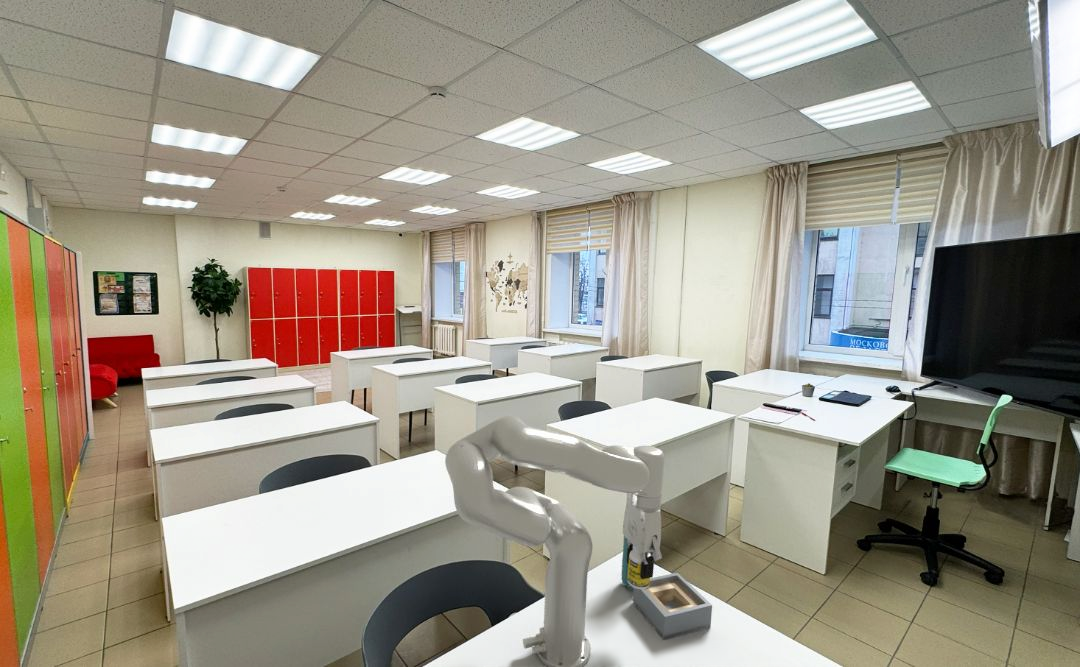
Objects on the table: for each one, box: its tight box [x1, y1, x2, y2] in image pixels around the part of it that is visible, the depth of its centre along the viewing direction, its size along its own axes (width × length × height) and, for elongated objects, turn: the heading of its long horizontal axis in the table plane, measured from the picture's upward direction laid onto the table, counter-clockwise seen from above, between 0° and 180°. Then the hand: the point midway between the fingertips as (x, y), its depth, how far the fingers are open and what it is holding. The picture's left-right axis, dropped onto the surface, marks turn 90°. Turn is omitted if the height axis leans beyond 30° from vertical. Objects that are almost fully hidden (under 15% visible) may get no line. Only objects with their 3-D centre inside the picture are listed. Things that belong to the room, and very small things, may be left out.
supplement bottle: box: [627, 545, 651, 589], centre depth 112 cm, size 5×5×10 cm
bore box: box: [632, 572, 713, 641], centre depth 120 cm, size 14×14×6 cm
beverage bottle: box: [620, 535, 634, 589], centre depth 131 cm, size 6×7×20 cm
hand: (639, 569), depth 112 cm, fingers closed on supplement bottle, 5 cm apart
